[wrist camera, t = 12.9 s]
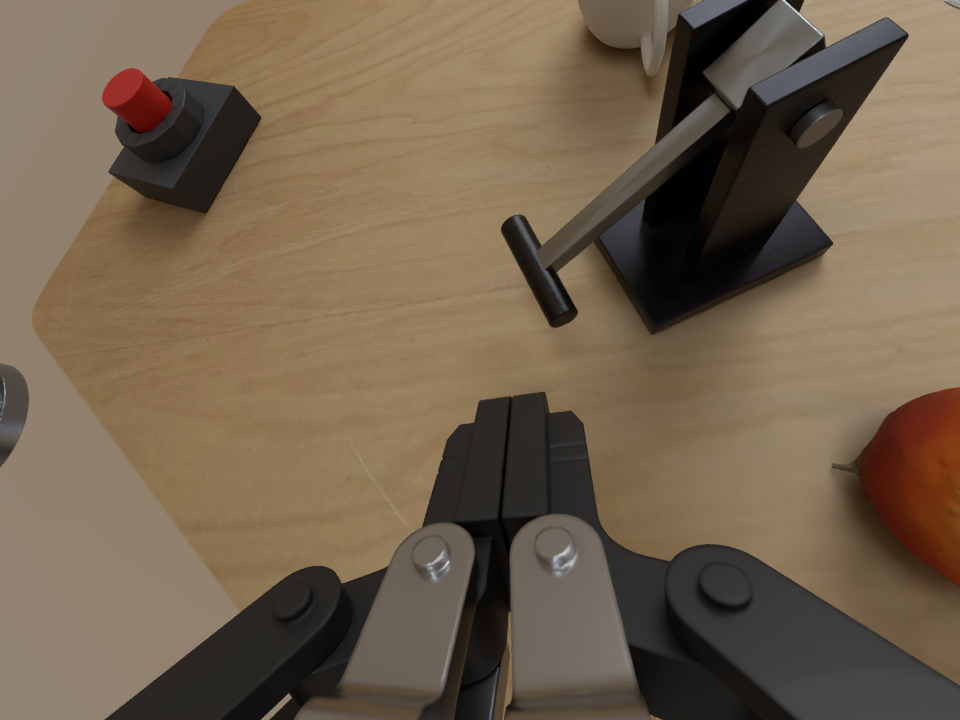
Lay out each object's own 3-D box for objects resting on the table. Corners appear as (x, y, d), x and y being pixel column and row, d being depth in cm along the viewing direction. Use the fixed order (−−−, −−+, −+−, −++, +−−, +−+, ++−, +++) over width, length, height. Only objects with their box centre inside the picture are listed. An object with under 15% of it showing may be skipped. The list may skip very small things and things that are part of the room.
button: (157, 136, 33) (124, 109, 31) (127, 130, 35) (93, 103, 32) (180, 99, 34) (149, 69, 32) (150, 94, 35) (118, 65, 33)
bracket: (651, 335, 25) (705, 187, 13) (586, 229, 28) (581, 29, 16) (823, 254, 24) (1055, 14, 12) (737, 154, 27) (854, -121, 15)
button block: (206, 213, 36) (149, 172, 32) (144, 196, 39) (83, 156, 34) (261, 117, 38) (216, 65, 34) (199, 106, 41) (148, 57, 36)
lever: (565, 330, 22) (539, 325, 20) (516, 239, 24) (489, 227, 22) (867, 111, 15) (868, 73, 13) (759, 9, 17) (747, -36, 15)
